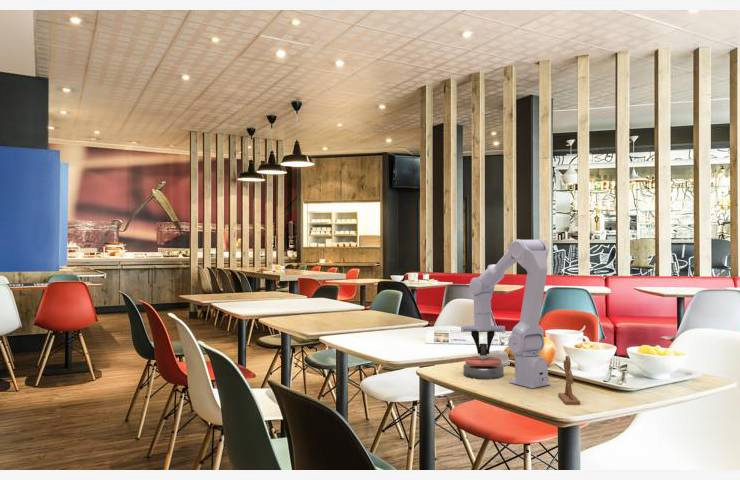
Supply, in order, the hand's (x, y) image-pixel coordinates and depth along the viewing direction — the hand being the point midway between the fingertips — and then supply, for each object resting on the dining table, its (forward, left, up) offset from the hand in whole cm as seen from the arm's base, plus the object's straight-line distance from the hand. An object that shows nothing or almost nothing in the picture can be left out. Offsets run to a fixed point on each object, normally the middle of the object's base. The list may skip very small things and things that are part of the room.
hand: (483, 353), depth 188 cm
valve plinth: (-3, +3, -6) cm, 8 cm away
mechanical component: (+8, -14, -7) cm, 18 cm away
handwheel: (-3, +3, -3) cm, 5 cm away
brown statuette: (-40, +7, -6) cm, 41 cm away
